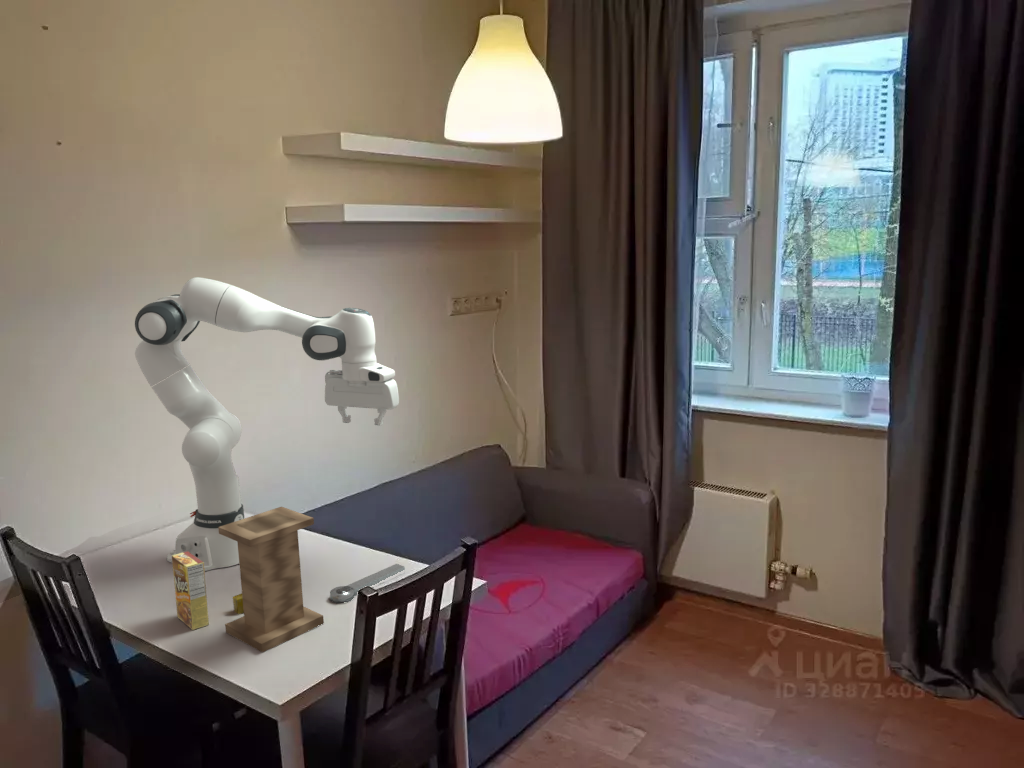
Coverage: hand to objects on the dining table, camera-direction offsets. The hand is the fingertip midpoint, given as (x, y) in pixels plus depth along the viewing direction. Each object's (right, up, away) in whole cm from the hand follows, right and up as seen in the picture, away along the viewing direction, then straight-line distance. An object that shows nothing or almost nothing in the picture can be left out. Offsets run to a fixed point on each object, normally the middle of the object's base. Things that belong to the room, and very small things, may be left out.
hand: (362, 423), depth 217 cm
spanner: (+3, -40, -10) cm, 41 cm away
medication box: (-21, -42, -18) cm, 51 cm away
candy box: (-34, -44, -26) cm, 61 cm away
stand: (-14, -44, -30) cm, 55 cm away
